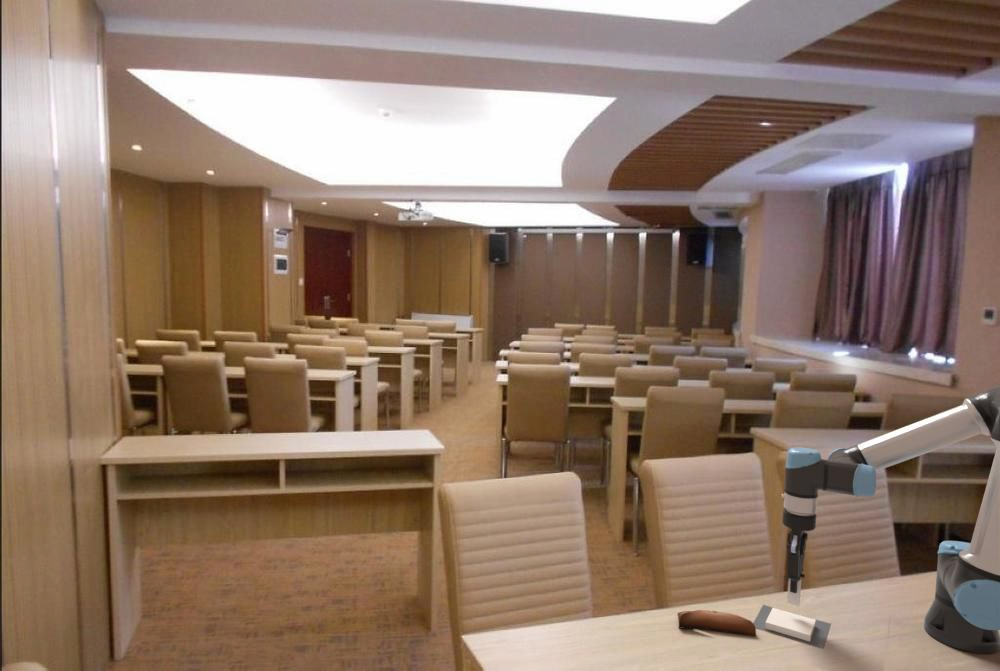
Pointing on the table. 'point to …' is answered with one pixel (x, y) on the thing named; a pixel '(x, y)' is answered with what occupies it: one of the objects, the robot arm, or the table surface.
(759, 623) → the mat
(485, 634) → the table surface
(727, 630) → the sunglasses case
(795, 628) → the tile
